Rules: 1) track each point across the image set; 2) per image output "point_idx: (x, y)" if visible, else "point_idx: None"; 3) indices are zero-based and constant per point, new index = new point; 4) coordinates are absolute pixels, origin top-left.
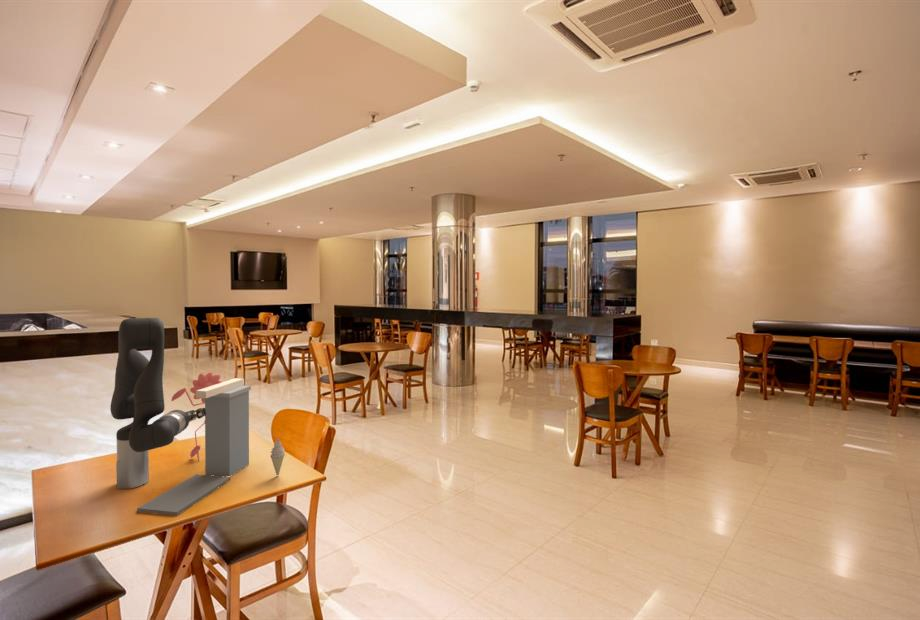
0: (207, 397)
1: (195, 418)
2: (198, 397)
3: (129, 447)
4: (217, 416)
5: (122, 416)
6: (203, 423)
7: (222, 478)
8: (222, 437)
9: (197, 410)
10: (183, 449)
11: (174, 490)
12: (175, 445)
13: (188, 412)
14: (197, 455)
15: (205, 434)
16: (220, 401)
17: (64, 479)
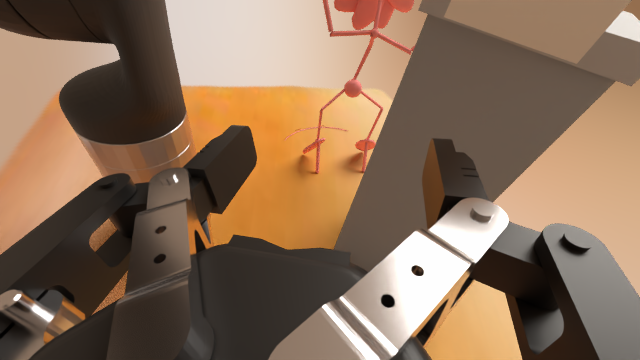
0: (582, 54)
1: (437, 329)
2: (475, 23)
3: (113, 165)
4: None
5: (7, 24)
6: (342, 90)
7: None
8: (423, 223)
9: (493, 247)
10: (292, 114)
11: None
12: (281, 96)
13: (411, 334)
14: (316, 160)
15: (363, 178)
16: (515, 82)
17: (72, 134)
